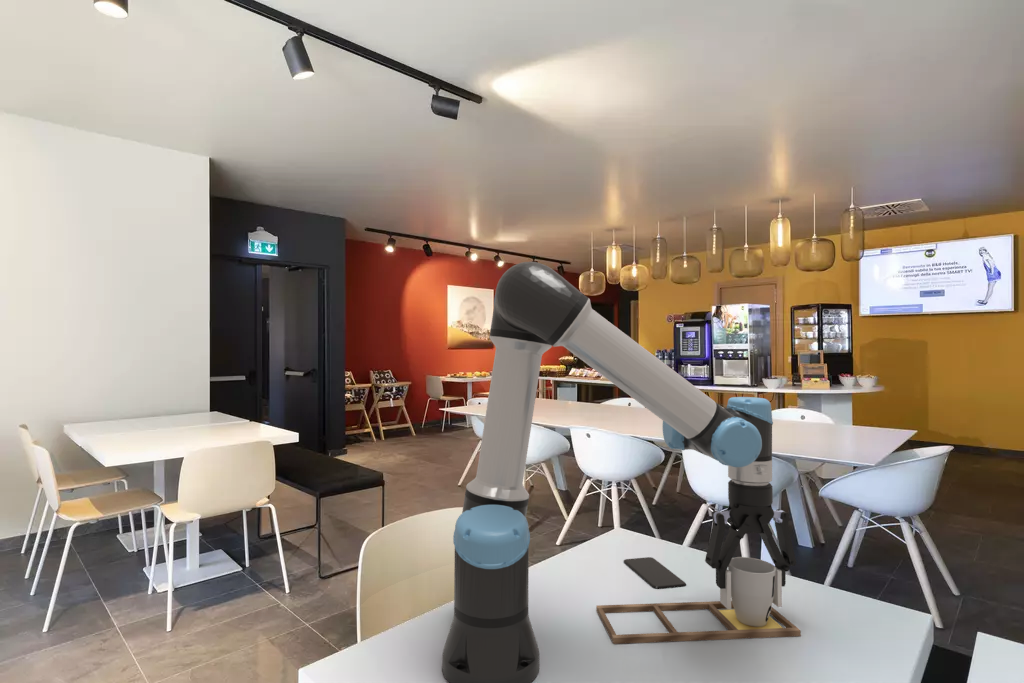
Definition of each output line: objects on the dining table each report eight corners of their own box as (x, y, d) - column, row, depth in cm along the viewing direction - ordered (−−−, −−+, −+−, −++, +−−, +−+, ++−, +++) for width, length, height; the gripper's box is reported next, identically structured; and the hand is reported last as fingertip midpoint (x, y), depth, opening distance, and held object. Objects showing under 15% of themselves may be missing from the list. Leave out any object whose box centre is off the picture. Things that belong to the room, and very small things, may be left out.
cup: (781, 633, 96) (781, 575, 96) (732, 628, 97) (732, 571, 98) (769, 612, 104) (769, 558, 104) (724, 607, 105) (724, 555, 106)
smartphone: (688, 588, 116) (652, 560, 131) (688, 584, 116) (652, 556, 131) (654, 591, 114) (621, 562, 129) (654, 587, 114) (621, 559, 129)
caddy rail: (613, 643, 92) (613, 637, 92) (596, 610, 104) (596, 605, 104) (800, 636, 95) (800, 630, 95) (763, 604, 107) (763, 599, 107)
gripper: (702, 487, 97) (702, 616, 96) (818, 485, 98) (819, 611, 98) (685, 477, 104) (685, 597, 103) (793, 475, 106) (794, 593, 105)
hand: (750, 604), depth 101 cm, fingers open, 9 cm apart
